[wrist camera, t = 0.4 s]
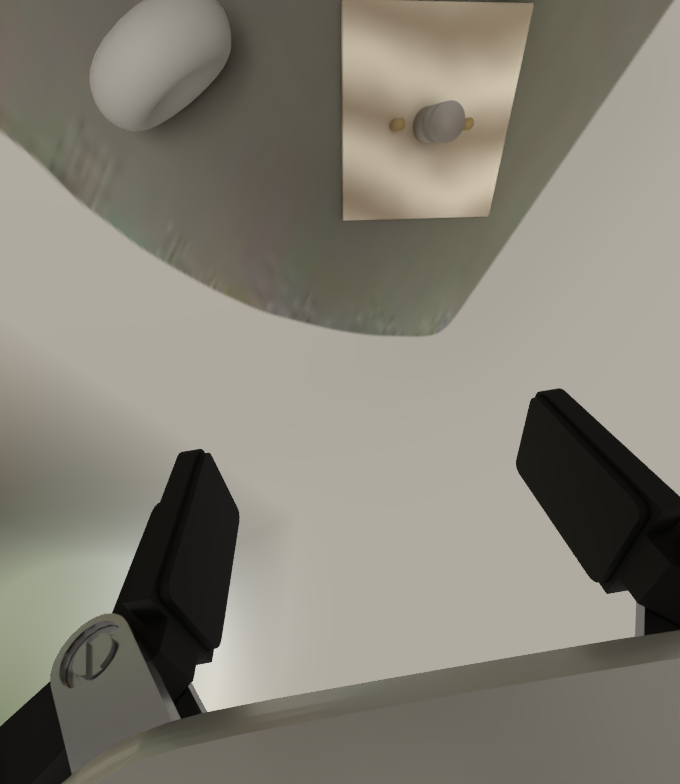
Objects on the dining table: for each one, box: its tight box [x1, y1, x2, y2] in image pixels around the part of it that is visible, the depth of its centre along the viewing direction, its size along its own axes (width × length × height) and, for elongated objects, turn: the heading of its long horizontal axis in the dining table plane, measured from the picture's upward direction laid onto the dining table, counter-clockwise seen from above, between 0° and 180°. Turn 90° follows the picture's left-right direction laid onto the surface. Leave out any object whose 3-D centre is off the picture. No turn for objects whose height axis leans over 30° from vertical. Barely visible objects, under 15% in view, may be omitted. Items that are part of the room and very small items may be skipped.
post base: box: [341, 0, 534, 221], centre depth 27 cm, size 14×14×6 cm
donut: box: [89, 0, 231, 132], centre depth 23 cm, size 10×4×10 cm, turn 121°
